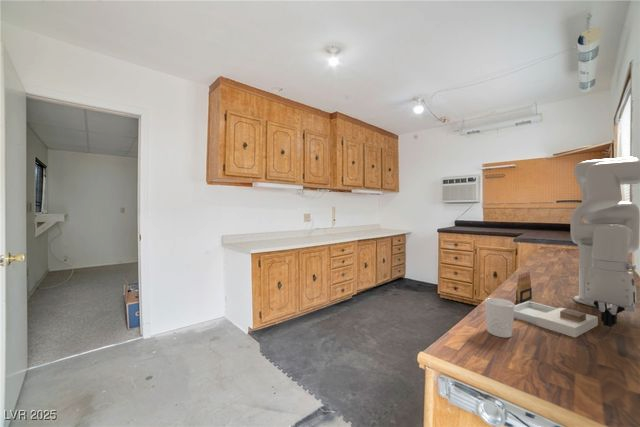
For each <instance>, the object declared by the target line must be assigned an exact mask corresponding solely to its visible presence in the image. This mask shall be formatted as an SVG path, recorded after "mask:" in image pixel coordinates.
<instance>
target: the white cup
mask: <svg viewBox="0 0 640 427" xmlns="http://www.w3.org/2000/svg"><path fill="white" fill-rule="evenodd" d="M484 304H485V305H484V308H485V322H486V332H487V333H489V334H490V335H492V336H494V337H499V338H511V337H513V329H514V328H513V327H514V319H515V318H514V307H515V305H516V304H515V303H514V302H513V301H511V300H508V299H504V298H499V297H498V298H497V297H487V298H485V299H484Z"/></svg>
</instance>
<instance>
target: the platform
mask: <svg viewBox="0 0 640 427" xmlns="http://www.w3.org/2000/svg"><path fill="white" fill-rule="evenodd" d="M564 309H566V307H565V308H564V307H558V309H555V310H552V311H550V312H547V313H545V314H542V315H539V316H537V325H536V326H537V327H541V328H543V329H547V330H549V331H550V330H551V331H554V332H556V333H559V334H562V335H566V336H569V337H572V338H577V337H579V336H581V335H583V334H584V333H586V332H588V331H590V330H592V329H594V328H596V327H597V326H598V325H599V324H598V322H599V320H598V319H599V318H598V317H599V316H596V315H592V314H588V313H586V320H584V321H582V322H576V321H573V320H569V319H565V318H562V317H560V311H562V310H564Z"/></svg>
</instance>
